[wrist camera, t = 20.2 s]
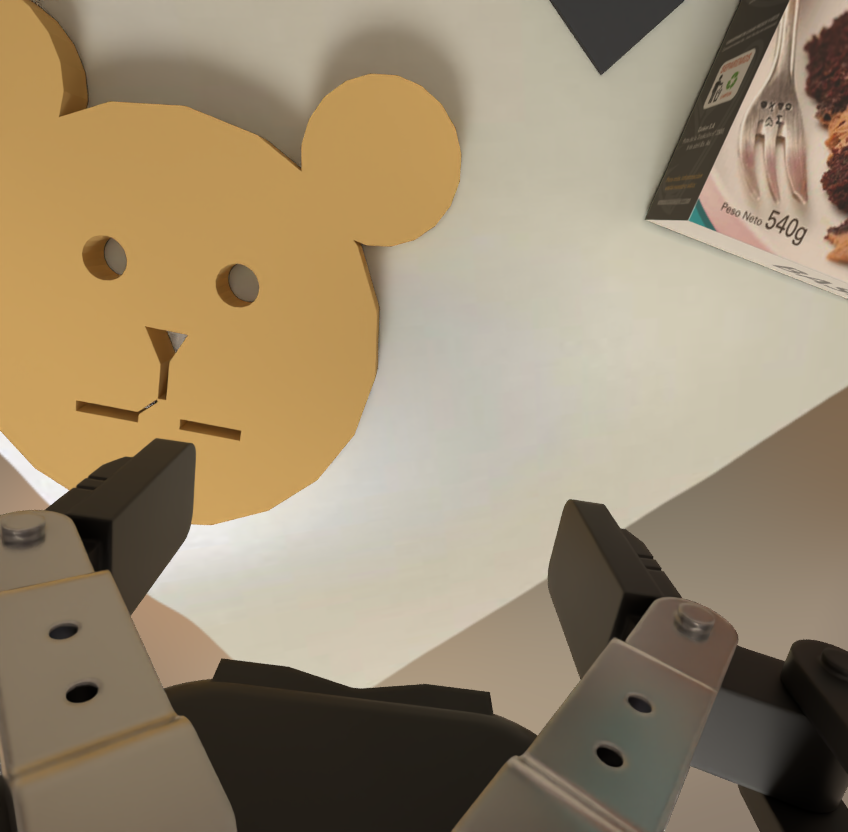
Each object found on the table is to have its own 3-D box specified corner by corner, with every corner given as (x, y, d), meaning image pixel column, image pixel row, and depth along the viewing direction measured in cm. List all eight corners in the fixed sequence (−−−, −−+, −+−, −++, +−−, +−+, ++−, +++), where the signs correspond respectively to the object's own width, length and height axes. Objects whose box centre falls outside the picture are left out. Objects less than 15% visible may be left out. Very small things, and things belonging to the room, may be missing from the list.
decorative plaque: (379, 543, 45) (473, 103, 36) (377, 562, 43) (478, 94, 34) (-61, 464, 43) (-78, -29, 34) (-91, 480, 40) (-117, -48, 31)
